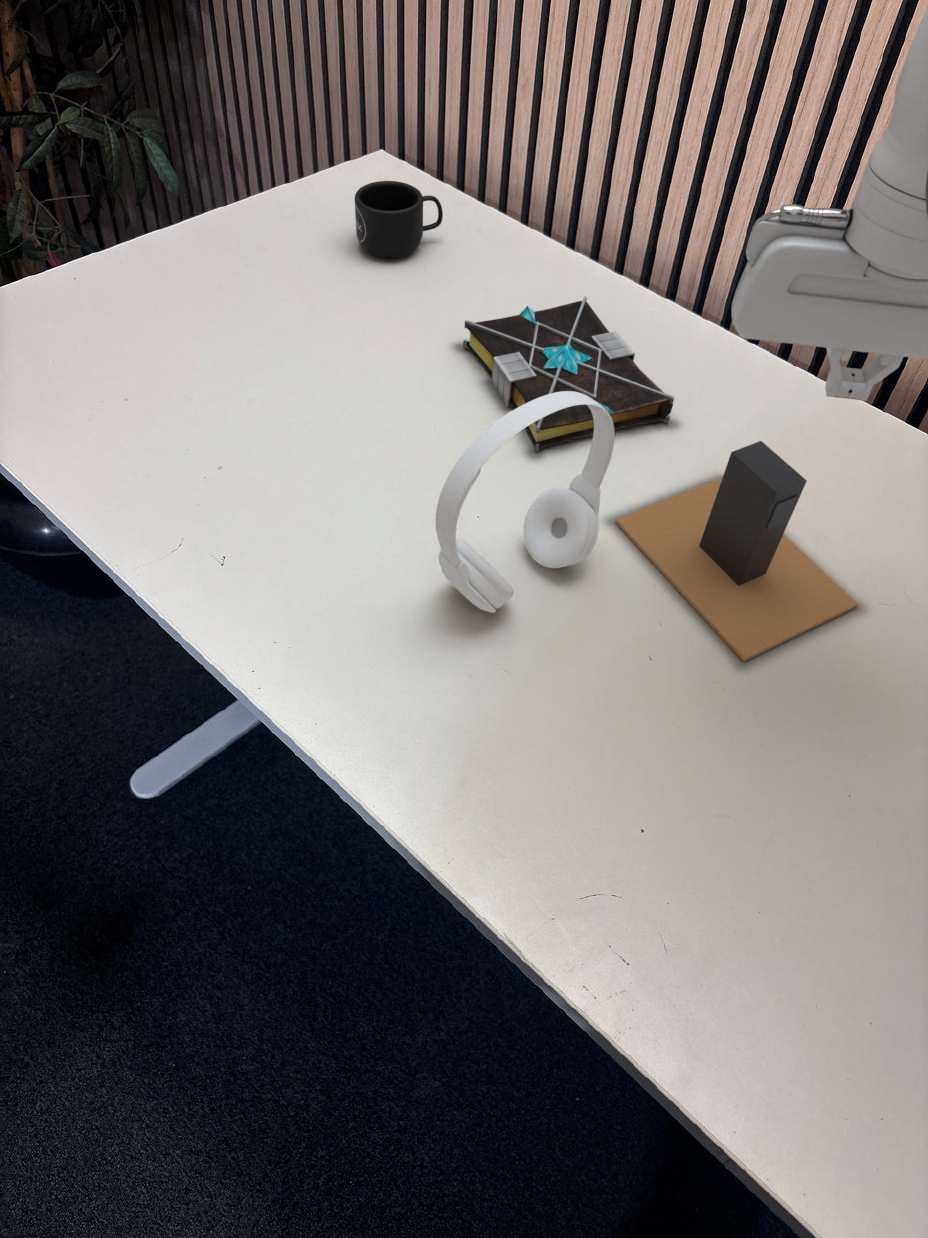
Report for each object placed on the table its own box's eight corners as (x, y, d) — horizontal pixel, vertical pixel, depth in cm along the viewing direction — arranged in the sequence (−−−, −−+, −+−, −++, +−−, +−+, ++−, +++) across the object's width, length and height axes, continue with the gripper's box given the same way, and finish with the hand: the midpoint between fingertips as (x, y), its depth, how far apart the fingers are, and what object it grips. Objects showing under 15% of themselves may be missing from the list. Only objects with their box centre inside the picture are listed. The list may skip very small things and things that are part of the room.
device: (767, 574, 88) (808, 481, 79) (739, 587, 87) (778, 493, 78) (726, 534, 92) (761, 440, 82) (698, 545, 90) (731, 451, 81)
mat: (856, 607, 87) (858, 604, 86) (743, 662, 82) (745, 658, 82) (721, 480, 98) (722, 476, 97) (614, 522, 93) (615, 518, 92)
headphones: (610, 559, 89) (651, 390, 74) (464, 647, 82) (475, 478, 66) (561, 517, 93) (591, 347, 77) (416, 598, 85) (416, 427, 70)
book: (669, 423, 103) (679, 386, 99) (535, 455, 99) (540, 418, 95) (583, 320, 116) (589, 284, 112) (460, 345, 111) (461, 308, 107)
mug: (366, 268, 122) (364, 216, 116) (349, 235, 127) (346, 183, 121) (452, 256, 124) (453, 205, 119) (432, 224, 130) (432, 173, 124)
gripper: (762, 224, 58) (709, 402, 69) (1094, 259, 57) (988, 436, 67) (756, 179, 62) (707, 354, 73) (1066, 211, 61) (970, 385, 71)
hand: (844, 394), depth 70 cm, fingers closed
